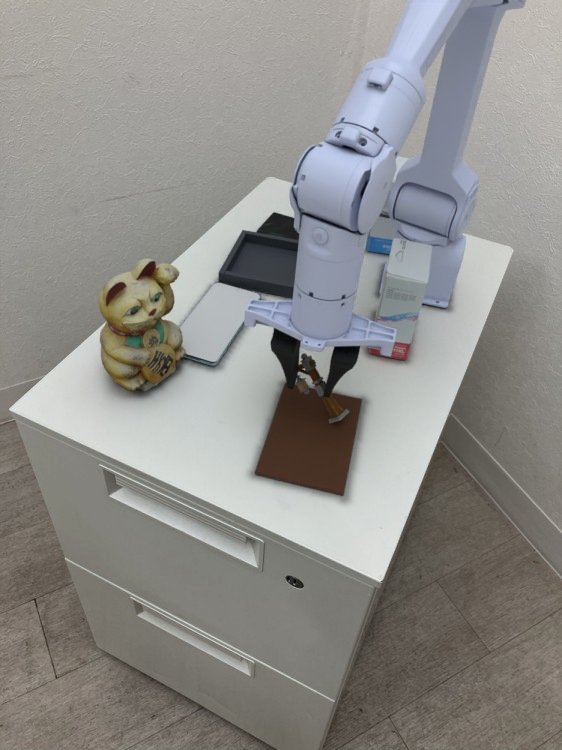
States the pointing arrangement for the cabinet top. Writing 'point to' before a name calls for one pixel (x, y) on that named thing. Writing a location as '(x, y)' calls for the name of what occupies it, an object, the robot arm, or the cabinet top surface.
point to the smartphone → (215, 322)
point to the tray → (261, 264)
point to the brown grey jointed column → (318, 387)
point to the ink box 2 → (403, 292)
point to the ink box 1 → (384, 223)
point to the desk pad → (309, 441)
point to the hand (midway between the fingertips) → (310, 386)
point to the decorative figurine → (140, 326)
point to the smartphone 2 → (279, 226)
